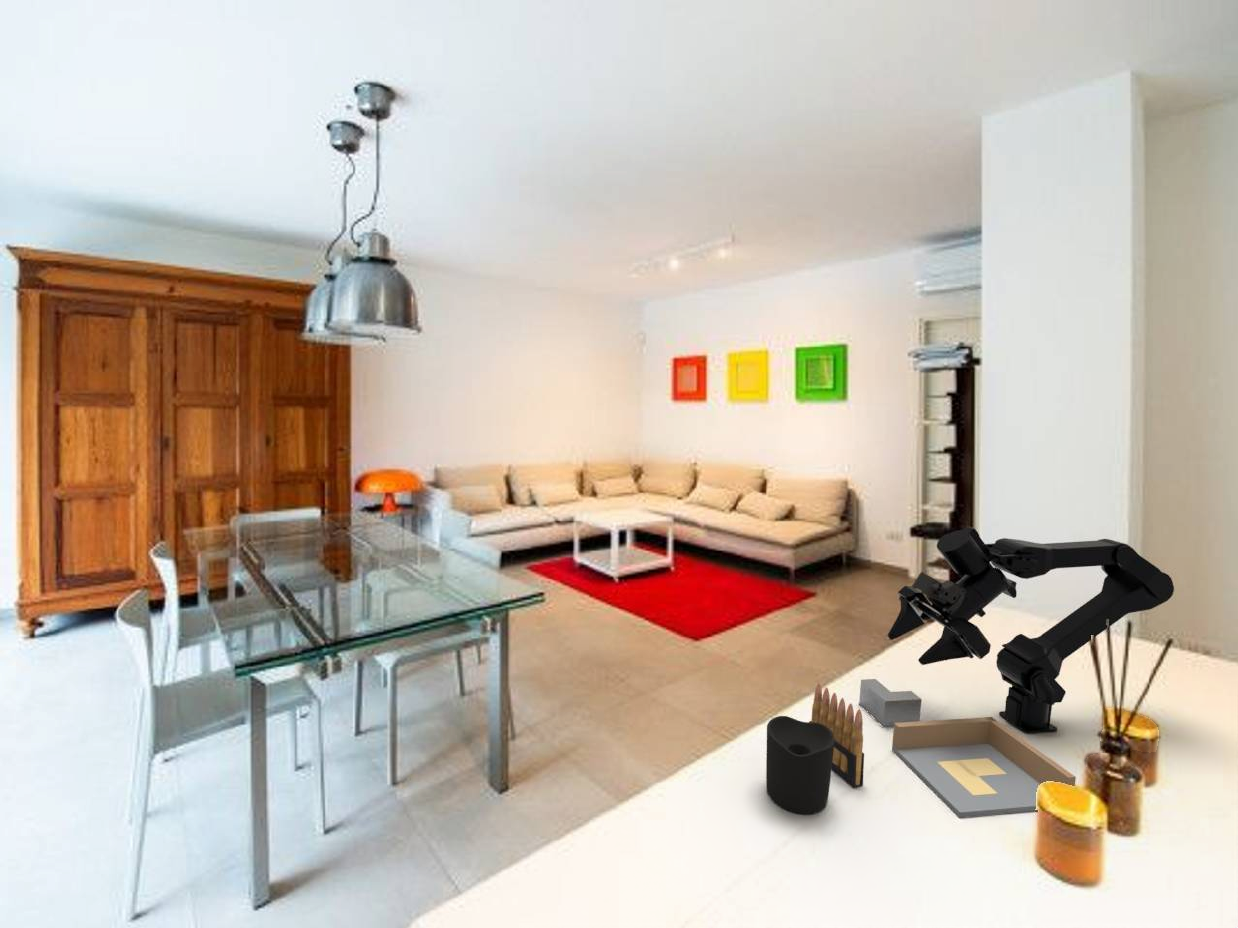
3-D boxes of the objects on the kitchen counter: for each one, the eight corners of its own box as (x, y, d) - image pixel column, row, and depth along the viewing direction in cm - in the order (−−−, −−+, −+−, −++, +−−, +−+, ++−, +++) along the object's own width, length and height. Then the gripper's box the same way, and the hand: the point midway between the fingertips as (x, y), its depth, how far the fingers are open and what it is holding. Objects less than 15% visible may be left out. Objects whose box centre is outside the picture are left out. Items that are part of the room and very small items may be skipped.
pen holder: (795, 826, 81) (799, 758, 80) (750, 785, 89) (753, 723, 88) (844, 805, 85) (849, 740, 84) (797, 768, 93) (800, 709, 92)
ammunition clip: (863, 785, 90) (868, 711, 88) (853, 788, 89) (859, 713, 88) (815, 746, 99) (819, 678, 98) (806, 748, 99) (810, 680, 97)
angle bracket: (892, 702, 114) (894, 677, 114) (919, 725, 107) (921, 699, 106) (859, 704, 113) (860, 679, 113) (883, 727, 106) (885, 701, 105)
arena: (988, 743, 101) (991, 716, 101) (1072, 807, 86) (1075, 776, 85) (891, 749, 99) (894, 722, 98) (959, 817, 83) (962, 785, 83)
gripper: (915, 544, 111) (851, 597, 112) (988, 579, 93) (911, 643, 93) (946, 585, 114) (883, 637, 114) (1022, 628, 96) (948, 690, 96)
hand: (903, 649), depth 104 cm, fingers open, 9 cm apart
